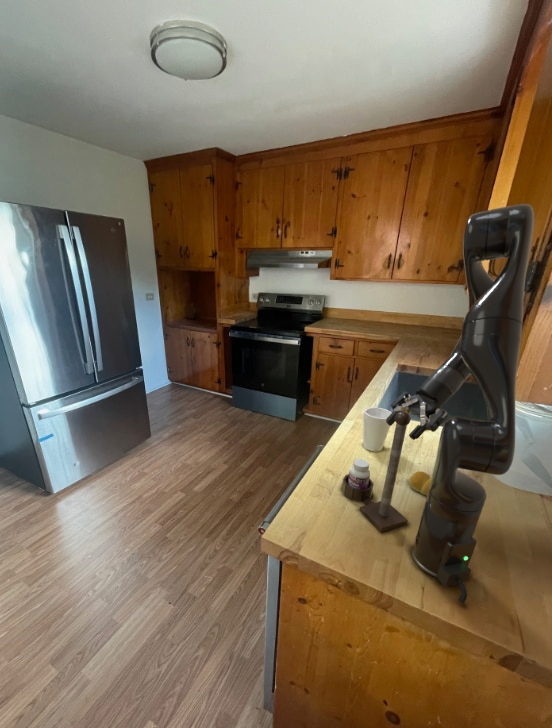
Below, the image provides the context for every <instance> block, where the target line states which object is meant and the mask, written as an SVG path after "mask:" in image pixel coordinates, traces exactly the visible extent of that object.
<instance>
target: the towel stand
mask: <svg viewBox="0 0 552 728" xmlns="http://www.w3.org/2000/svg"><path fill="white" fill-rule="evenodd" d="M411 421H412V418H411V415H410V414H408V413H406V412H399V413H397V414H396V416H395V422H394V423H395V428H394V432H393V438H392V443H391V447H390V453H389V458H388V464H387V468H386V472H385V478H384V484H383V488H382V494H381V499H380V501H376V502H374V501H373V499H371V497H372V495H373V490H374V486H375V485H374V482H373V481H372V479H371V477H370V478H369V483H368V489H364V490H361V489H355V488H353V487H351V486H349V485H348V478H349V473H348V474H345V476H344V477H343V479H342V484H341V491H342V494H343V495H344V496H345V497H346V498H348V499H349V500H352V501H355V502H363V503H364V504H365V505H362V506H360V507H359V512H360V513H361V514H362V515H363V516H364V517H365V518H366V519H367V520H368V521H369V522H370V523H371V524H372V525H373V526H374V527H375V528H376V529H377V530H378V531H379V532H380V533H382V532H386V531H389V530H392V529H396V528H398V527H402V526H405V525H408V521H409V519H408V518H406V517H405V516H404V515H403V514H402V513H400V511H399V510H397V509H396V508H395V507H393V506H392V504H391V503H392V498H393V494H394V490H395V484H396V479H397V475H398V470H399V466H400V462H401V461H400V460H401V456H402V451H403V446H404V441H405V438H406V432H407V427H408V425H409V424H410V423H411Z"/></svg>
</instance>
